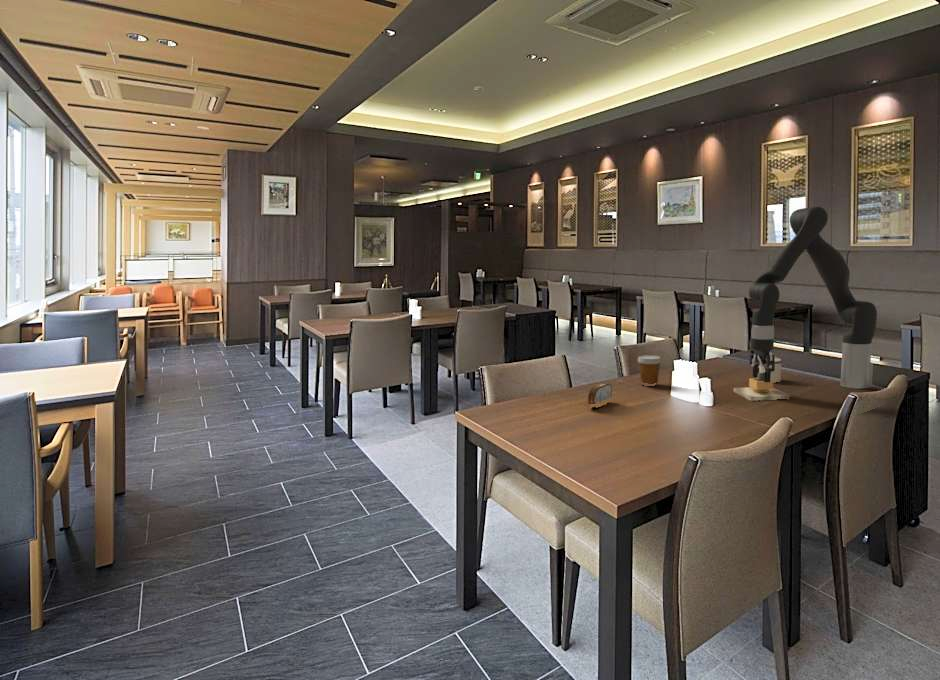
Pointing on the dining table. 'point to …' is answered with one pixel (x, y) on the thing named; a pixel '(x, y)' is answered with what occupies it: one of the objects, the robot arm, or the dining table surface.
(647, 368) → the disposable coffee cup
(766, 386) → the orange square socket block
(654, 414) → the dining table surface
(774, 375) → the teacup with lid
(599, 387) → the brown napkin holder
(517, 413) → the dining table surface
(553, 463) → the dining table surface
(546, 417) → the dining table surface
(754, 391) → the post stand
